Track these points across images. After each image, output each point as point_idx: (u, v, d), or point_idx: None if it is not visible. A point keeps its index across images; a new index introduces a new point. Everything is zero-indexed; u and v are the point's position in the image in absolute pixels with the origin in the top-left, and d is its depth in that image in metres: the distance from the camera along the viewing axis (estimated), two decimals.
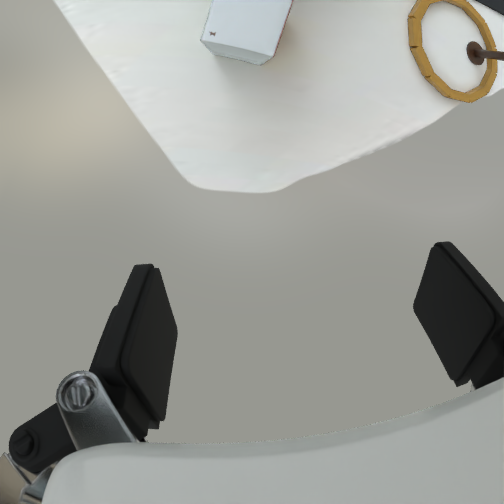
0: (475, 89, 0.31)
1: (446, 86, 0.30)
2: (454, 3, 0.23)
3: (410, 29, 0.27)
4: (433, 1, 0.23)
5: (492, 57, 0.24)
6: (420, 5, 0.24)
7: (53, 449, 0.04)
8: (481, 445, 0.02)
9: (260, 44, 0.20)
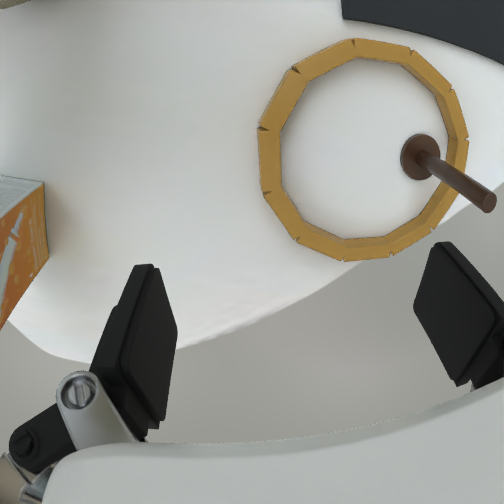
0: (407, 226, 0.24)
1: (336, 246, 0.24)
2: (379, 60, 0.16)
3: (259, 154, 0.20)
4: (318, 73, 0.16)
5: (446, 183, 0.17)
6: (281, 94, 0.17)
7: (53, 449, 0.04)
8: (481, 445, 0.02)
9: None
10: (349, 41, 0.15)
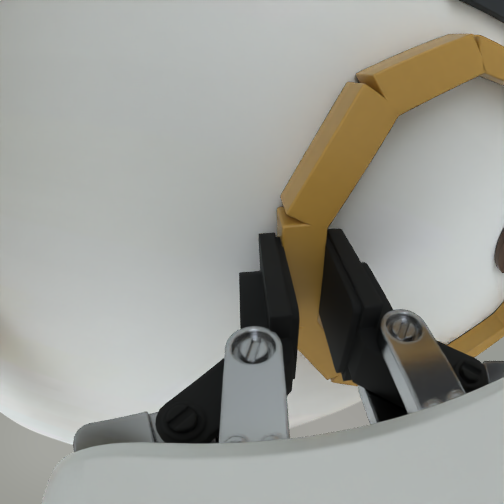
0: (479, 331, 0.14)
1: None
2: None
3: None
4: (419, 98, 0.07)
5: None
6: (340, 143, 0.07)
7: None
8: (481, 445, 0.02)
9: None
10: (472, 39, 0.05)
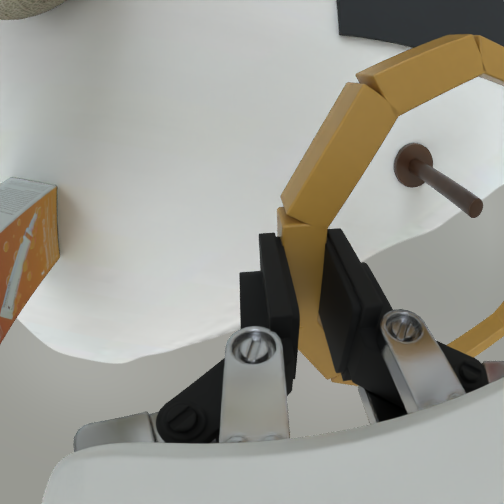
0: (479, 330, 0.14)
1: None
2: None
3: None
4: (419, 99, 0.07)
5: (436, 189, 0.19)
6: (340, 143, 0.07)
7: None
8: (481, 445, 0.02)
9: None
10: (472, 39, 0.05)
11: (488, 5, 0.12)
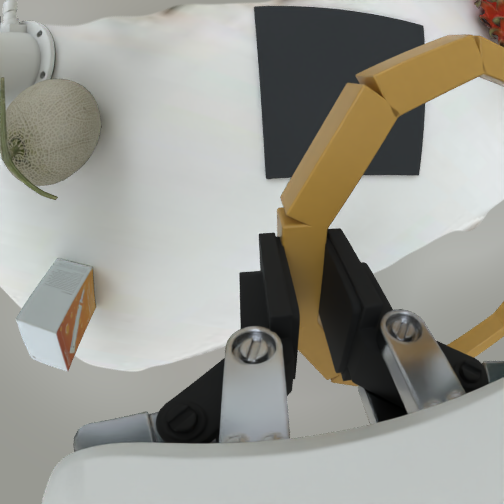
0: (479, 331, 0.14)
1: None
2: None
3: None
4: (419, 99, 0.07)
5: None
6: (340, 143, 0.07)
7: None
8: (481, 445, 0.02)
9: (58, 365, 0.30)
10: (472, 40, 0.05)
11: (404, 114, 0.28)
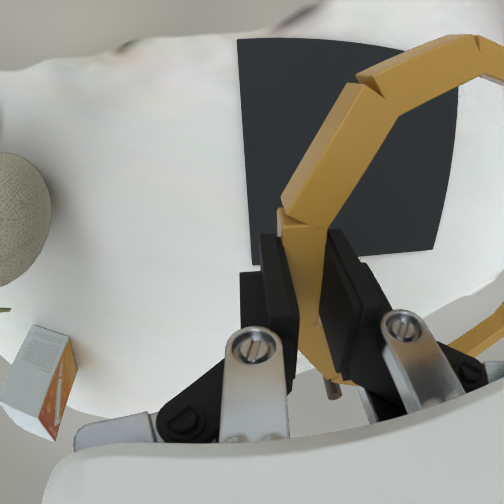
0: (479, 331, 0.14)
1: None
2: None
3: None
4: (419, 99, 0.07)
5: None
6: (340, 143, 0.07)
7: None
8: (481, 445, 0.02)
9: (45, 436, 0.25)
10: (472, 40, 0.05)
11: (424, 182, 0.23)
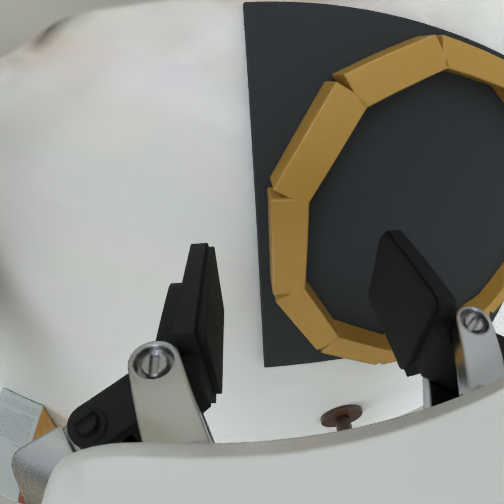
0: None
1: (374, 351, 0.16)
2: (471, 77, 0.08)
3: (270, 234, 0.12)
4: (385, 92, 0.08)
5: None
6: (317, 130, 0.09)
7: (123, 425, 0.05)
8: (481, 445, 0.02)
9: None
10: (435, 39, 0.07)
11: None
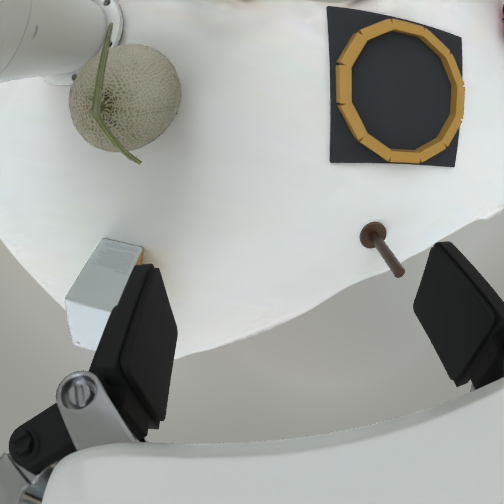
0: (429, 143, 0.31)
1: (385, 148, 0.31)
2: (406, 33, 0.23)
3: (337, 80, 0.27)
4: (373, 36, 0.24)
5: (382, 256, 0.36)
6: (352, 45, 0.24)
7: (53, 449, 0.04)
8: (481, 445, 0.02)
9: None
10: (389, 20, 0.22)
11: (445, 113, 0.29)
